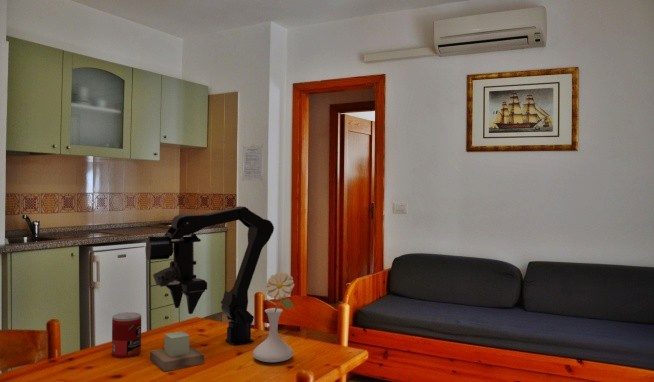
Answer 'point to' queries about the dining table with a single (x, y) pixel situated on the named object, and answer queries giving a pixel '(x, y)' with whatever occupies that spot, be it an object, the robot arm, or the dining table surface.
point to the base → (176, 359)
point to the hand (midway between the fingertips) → (183, 310)
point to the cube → (176, 344)
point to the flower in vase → (276, 320)
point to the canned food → (126, 334)
